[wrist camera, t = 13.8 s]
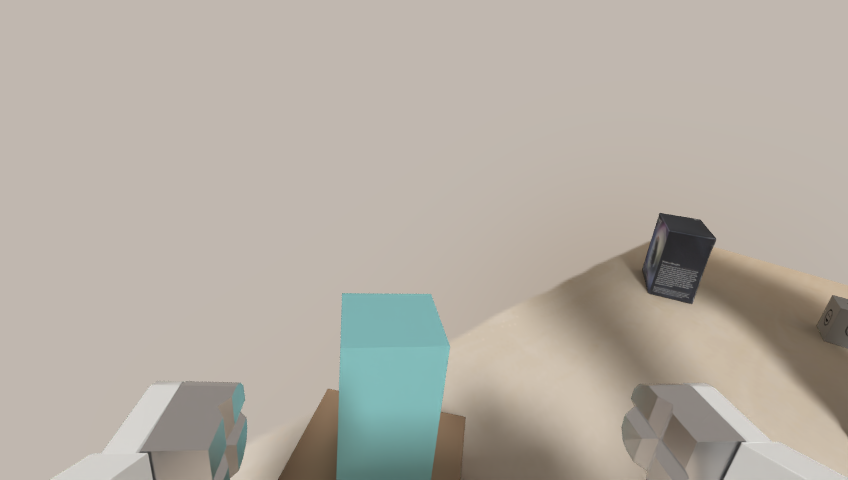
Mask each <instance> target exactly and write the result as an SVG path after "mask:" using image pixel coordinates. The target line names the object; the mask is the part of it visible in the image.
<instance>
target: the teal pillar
mask: <svg viewBox="0 0 848 480" xmlns="http://www.w3.org/2000/svg"><path fill="white" fill-rule="evenodd" d="M341 317H342V318H341V347H340V348H341V349H340V377H339V408H338V440H337V473H336V480H431V476H432V469H433V462H434V455H435V448H436V441H437V434H438V427H439V420H440V413H441V406H442V399H443V392H444V385H445V378H446V371H447V364H448V357H449V350H450V345H449V342H448V340H447V337H446V334H445V332H444V329H443V326H442V323H441V321H440V318H439V315H438V312H437V309H436V307H435V304H434V301H433V298H432V296H431V294H356V293H355V294H352V293H349V294H348V293H346V294H345V293H342V315H341Z"/></svg>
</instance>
